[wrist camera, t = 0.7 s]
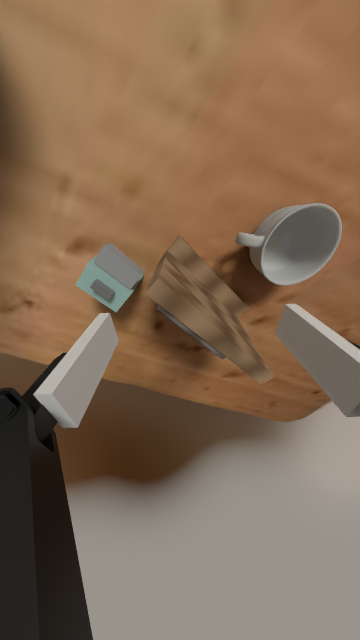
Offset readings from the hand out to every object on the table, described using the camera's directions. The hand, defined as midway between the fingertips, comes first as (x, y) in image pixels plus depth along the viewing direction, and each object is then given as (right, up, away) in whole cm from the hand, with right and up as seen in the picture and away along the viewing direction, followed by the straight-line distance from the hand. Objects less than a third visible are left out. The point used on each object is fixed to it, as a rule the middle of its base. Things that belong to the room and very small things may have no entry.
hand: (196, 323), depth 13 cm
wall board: (+3, +7, +21) cm, 23 cm away
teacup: (+14, +15, +17) cm, 27 cm away
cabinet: (-12, +11, +19) cm, 25 cm away
